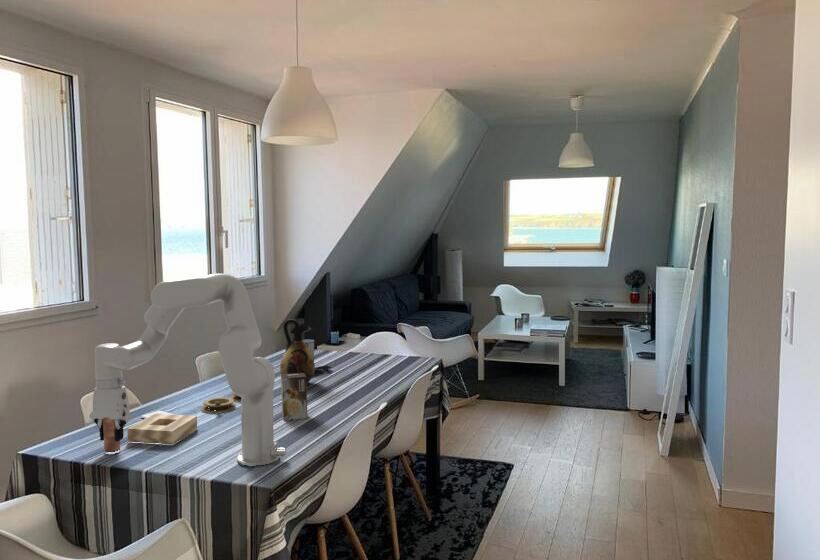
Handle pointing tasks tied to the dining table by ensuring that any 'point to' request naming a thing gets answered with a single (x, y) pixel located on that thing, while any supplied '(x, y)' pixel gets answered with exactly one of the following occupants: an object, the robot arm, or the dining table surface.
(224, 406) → the tableware set
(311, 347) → the milk frother
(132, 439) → the socket block
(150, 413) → the external hard drive
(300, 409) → the coffee box
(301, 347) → the ceramic jug
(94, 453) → the dining table surface
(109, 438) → the peg
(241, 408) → the robot arm
